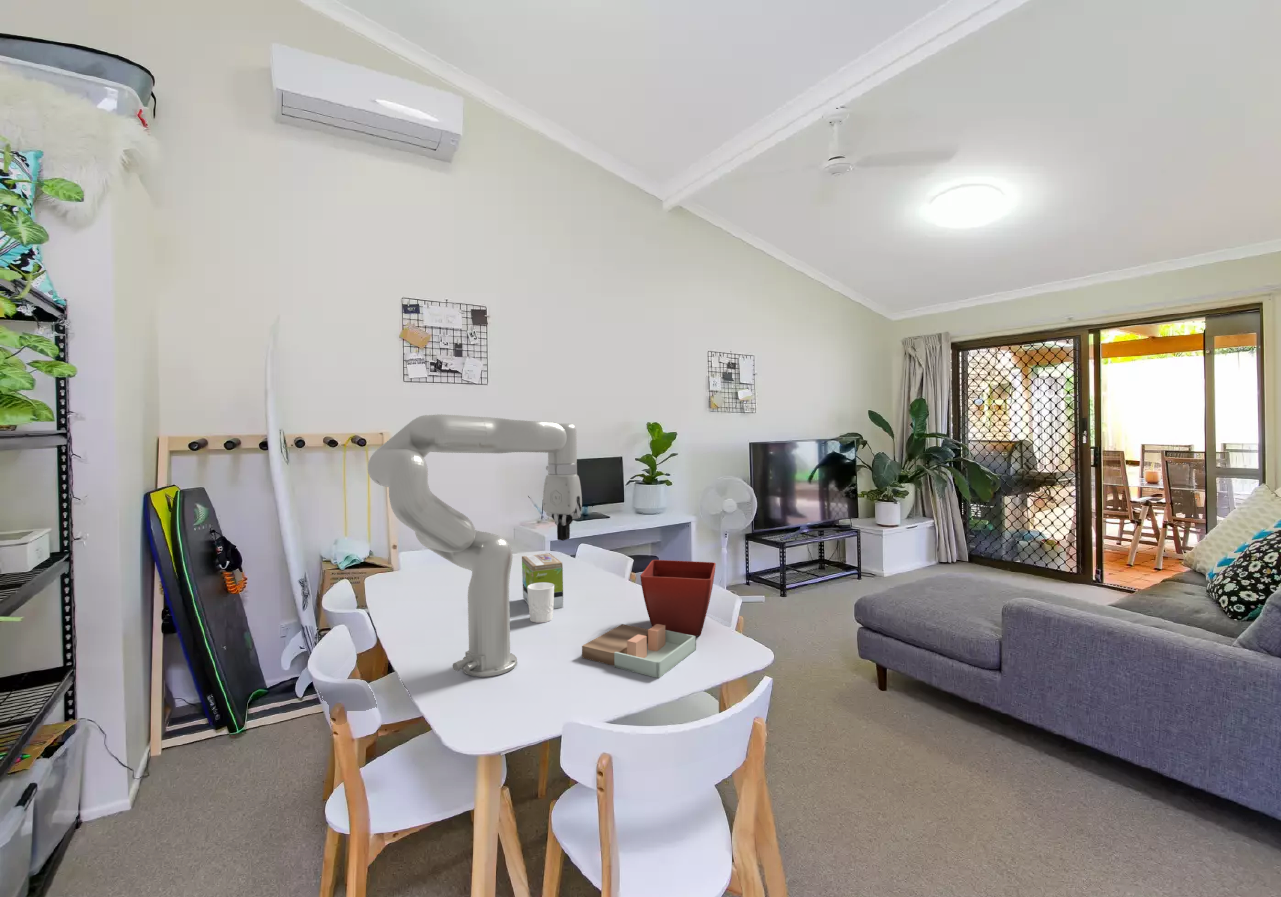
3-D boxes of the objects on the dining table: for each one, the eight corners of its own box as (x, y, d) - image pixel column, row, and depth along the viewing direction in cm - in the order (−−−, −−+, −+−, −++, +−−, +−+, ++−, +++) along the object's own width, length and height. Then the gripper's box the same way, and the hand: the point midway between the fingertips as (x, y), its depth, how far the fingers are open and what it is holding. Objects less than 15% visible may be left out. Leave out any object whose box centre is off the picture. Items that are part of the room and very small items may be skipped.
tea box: (521, 599, 189) (521, 555, 189) (551, 595, 193) (550, 552, 193) (533, 612, 176) (532, 564, 175) (564, 607, 180) (563, 561, 179)
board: (615, 666, 135) (615, 653, 135) (582, 657, 140) (581, 645, 140) (653, 641, 150) (653, 630, 150) (622, 635, 155) (622, 624, 155)
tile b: (648, 649, 143) (657, 651, 142) (648, 630, 143) (657, 631, 142) (656, 643, 148) (665, 644, 147) (656, 623, 148) (665, 625, 146)
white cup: (522, 621, 167) (521, 587, 167) (539, 613, 174) (538, 581, 174) (543, 625, 164) (543, 590, 163) (560, 617, 171) (559, 584, 170)
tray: (658, 678, 128) (658, 663, 128) (614, 667, 134) (614, 652, 134) (696, 649, 144) (695, 636, 144) (655, 641, 151) (654, 627, 151)
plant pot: (711, 642, 150) (710, 578, 149) (640, 637, 153) (639, 575, 153) (716, 618, 168) (716, 562, 168) (652, 615, 172) (652, 559, 172)
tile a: (627, 661, 136) (636, 663, 135) (627, 640, 136) (636, 642, 135) (638, 654, 140) (646, 656, 139) (637, 634, 140) (646, 636, 139)
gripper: (531, 470, 151) (532, 539, 152) (576, 472, 143) (577, 544, 144) (550, 468, 157) (551, 534, 158) (594, 470, 150) (594, 539, 150)
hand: (563, 539), depth 151 cm, fingers closed
